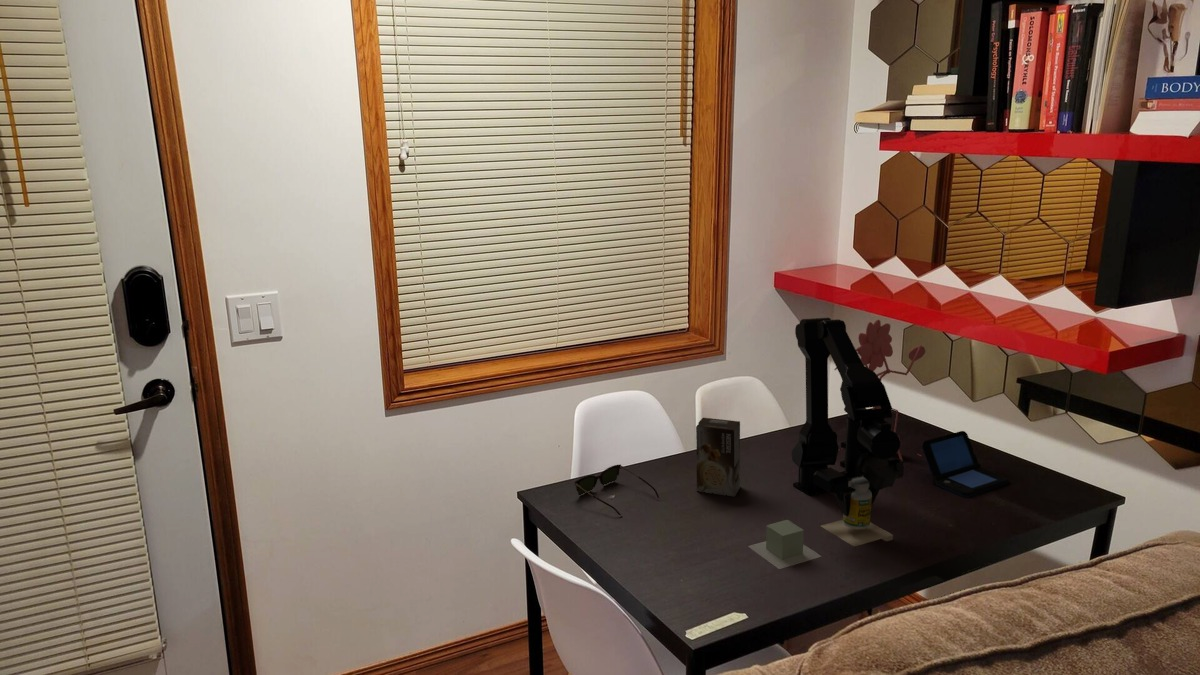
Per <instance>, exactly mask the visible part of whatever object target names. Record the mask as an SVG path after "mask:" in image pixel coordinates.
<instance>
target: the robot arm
mask: <svg viewBox="0 0 1200 675" xmlns="http://www.w3.org/2000/svg"><path fill="white" fill-rule="evenodd" d="M794 331H795V332H794V333H795V338H796V340H797V347H798V348H799V350H800V351H801V353H802V355H803V356H804V359H805V414H806V415H805V423H804V424H803V426H802V427H801V429H800V431H799V433H798V442H797V443H796V444H795V446H794V448H792V450H791V461H792V462H793V463H794V464H795V465H796V466H797V467H798V476H797V477H798V480H797V481H795V482H793V483H792V486H793V487H795V488H797V489H798V490H800V491H801V492H803V493H805V494H806V495H809V496H814V495H817V494H822V493H825V492H826V493H827V492H828V493H830V494H834V496H835V498H836V501H837V503H838V504H839V507H840V509H841V512H842V515H843V514H844V515H845V516H848V515H849V511H850V500H851V494H852V493H853V492H854V491H856V489H854V488H852V487H851V482H852V480H854V479H857V478H861V477H864V478H866V479H867V480H868V481H869V488H868V489H869V490H870V491H871V493H872V504H871V508H872V507H873V505H874V503H875V500H876V498H877V497H878V494H879V492H880V490H884V489H886V488H892V487H894V485H895V482H896V480H897V479H901V478H903V476H904V473H905V472H904V470H905V467H904V460H903V461H902V460H901V459H900V457H897V458H894V456H895V455H896V454H898V450H900V446H901V439H900V440H899V437H900V436H899V435H898V434H897V433H895V432H894V430H893V429H892V424H891V423H889V421H886V420H885V419H891V418H892V417H893V414H892V411H891V410H892V408H893V407H892V404H891V401H890V399H889V396H888V393H887V390H886V386H885V385H884V383H883V382H882V379H881V380H880V379H879V378H880V376H877V375H876V374H877V373H876V372H875V370H874V371H872V370H870V369H868V368H869V367H868V368H867V367H866V366H865V365H864V364H863V363H862V361H861V356H860V355H859V354H858V352H857V351H856V349H857V348H855V345H854V343H853V341H852V339H851V338H850V336H849V334H848V331H847V325H846V322H845V321H844V320H843V319H842V320H841V319H840V318H839V319H832V318H830V317H817V318H815V317H814V318H802V319H801V320H800V321H799V323H797V324H796V325H795V329H794ZM829 357H831V359H832V361H833V363H834V365H835V368H836V367H837V369H836V370H837V371H838V374H839V375H840V377H841V378H840V379H841V380H842V381H841V385H840V387H839V388H840V389H839V390H840V393H841V394H840V396H841V401H842V402H843V404H844V409H843V411H844V412H845V413H847V414H846V426H845V428H846V429H845V440H844V441H841V442H840V448H841V449H843V448H844V449H843V450H844V460H840V461H839V462H840V463H839V467H842V468H843V469H844V471H838V470H836V469H835V468H832V467H830V466H835V465H836V462H837V458H838V454H839V451H840V448H839V443H838V434H837V432H836V431H835V430H833V428H832V427H831V425H830V423H829V373H828V371H829V369H828V368H829V364H828V363H829V362H828V359H829ZM879 406H881V409H875V408H874V409H873V407H879ZM869 408H870V409H869ZM898 436H899V437H898ZM838 450H839V451H838Z"/></svg>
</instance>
